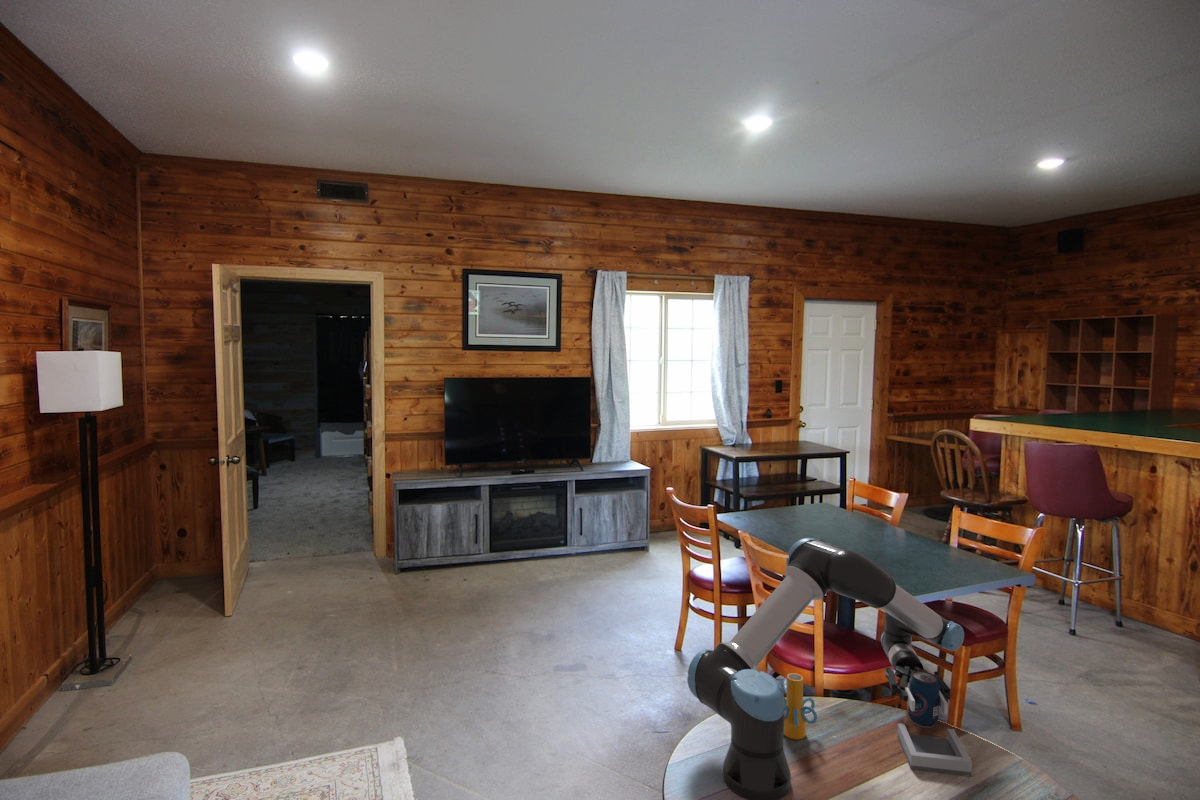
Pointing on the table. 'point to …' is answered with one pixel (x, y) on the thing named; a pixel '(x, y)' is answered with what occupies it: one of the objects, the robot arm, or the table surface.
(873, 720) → the table surface
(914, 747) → the dock
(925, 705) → the soda can
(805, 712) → the yellow hollow tube
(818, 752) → the table surface
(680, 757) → the table surface
